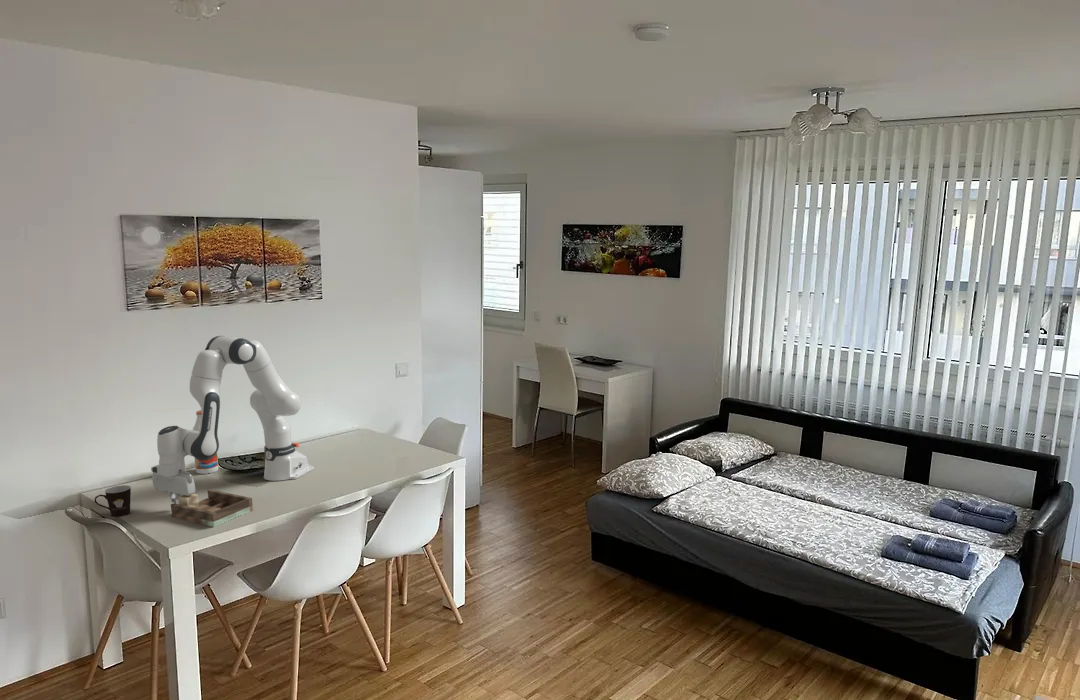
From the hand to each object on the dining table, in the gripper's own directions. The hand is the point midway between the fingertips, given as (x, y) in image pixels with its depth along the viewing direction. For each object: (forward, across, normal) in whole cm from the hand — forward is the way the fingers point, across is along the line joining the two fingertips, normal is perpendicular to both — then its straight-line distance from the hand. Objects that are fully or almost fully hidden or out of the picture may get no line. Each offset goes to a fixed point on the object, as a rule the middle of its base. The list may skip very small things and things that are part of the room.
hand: (175, 502), depth 287 cm
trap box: (+3, -16, -4) cm, 17 cm away
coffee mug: (+3, +18, +13) cm, 22 cm away
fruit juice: (+3, +30, -38) cm, 49 cm away
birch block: (+1, -8, 0) cm, 8 cm away
